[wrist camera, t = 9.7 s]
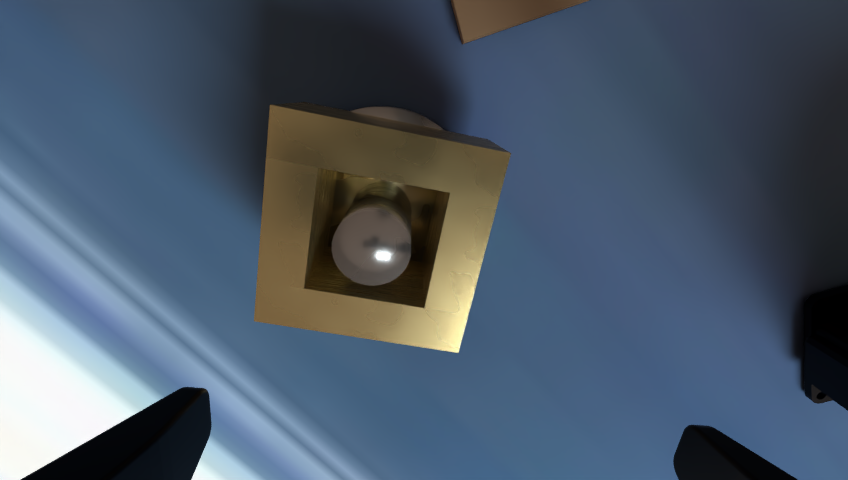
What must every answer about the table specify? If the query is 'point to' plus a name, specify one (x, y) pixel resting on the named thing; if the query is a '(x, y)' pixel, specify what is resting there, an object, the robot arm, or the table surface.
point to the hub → (380, 217)
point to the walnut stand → (501, 14)
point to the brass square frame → (311, 217)
